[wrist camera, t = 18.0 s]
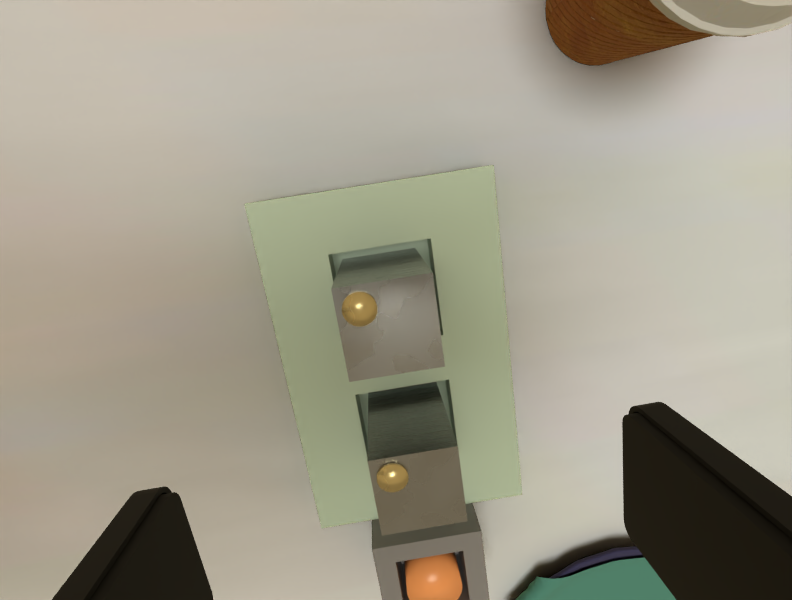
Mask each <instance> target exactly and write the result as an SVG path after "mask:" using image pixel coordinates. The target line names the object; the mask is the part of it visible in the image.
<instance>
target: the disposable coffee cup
mask: <svg viewBox="0 0 792 600" xmlns="http://www.w3.org/2000/svg"><path fill="white" fill-rule="evenodd" d="M546 20H547V23H548V27H549V30H550V34H551V36H552V38H553V40H554V42H555V43H556V45H557V46H558V47H559V49H560V50H561V51H562V52H563V53H564V54H566V55H567V56H568V57H570V58H571V59H572V60H574V61H576V62H579V63H582V64H586V65H603V64H607V63H611V62H614V61H618V60H622V59H625V58H629V57H633V56H637V55H641V54H644V53H648V52H652V51H656V50H660V49H664V48H668V47H671V46H675V45H679V44H683V43H687V42H691V41H694V40H698V39H702V38H706V37H710V36H713V35H715V36H737V37H746V36H751V35H755V34H760V33H764V32H768V31H773V30H777V29H780V28H782V27H784V26H786V25H788V24H790V23H792V0H546Z"/></svg>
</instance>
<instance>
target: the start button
mask: <svg viewBox="0 0 792 600" xmlns="http://www.w3.org/2000/svg"><path fill="white" fill-rule="evenodd" d="M404 564H405V576H406V587H407V595H408V598H409V600H457V599H458V598H459V597H460V595H461V592H462V581H461V577H460V573H459V568H458V564H457V560H456V555H455V552H453V553H447V554H441V555H436V556H430V557H424V558H418V559H412V560H406V561H404Z"/></svg>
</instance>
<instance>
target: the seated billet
mask: <svg viewBox="0 0 792 600" xmlns="http://www.w3.org/2000/svg"><path fill="white" fill-rule="evenodd" d="M367 462H368V467H369V472H370V477H371V482H372V487H373V492H374V498H375V503H376V508H377V513H378V518H379V523H380V529H381V534H382V536H383V535H389V534H395V533H401V532H407V531H413V530H419V529H425V528H430V527H436V526H442V525H448V524H454V523H460V522H466V521H468V520H467V513H466V505H465V497H464V489H463V481H462V474H461V466H460V458H459V450H458V445H457V442H456V439H455V436H454V433H453V430H452V427H451V424H450V421H449V418H448V415H447V412H446V409H445V406H444V403H443V400H442V397H441V394H440V391H439V388H438V385H437V382H430V383H424V384H418V385H412V386H406V387H400V388H394V389H388V390H382V391H376V392H369V393H368V455H367Z"/></svg>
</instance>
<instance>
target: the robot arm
mask: <svg viewBox="0 0 792 600" xmlns="http://www.w3.org/2000/svg"><path fill="white" fill-rule="evenodd" d="M622 424H623V495H624V523H625V527H626V530H627V533H628V535H629V537H630V538H631V540H632V541H633V543H634V544H635V545H636V547H637V548H638V549H639V551H640V552H641V553H642V555H643V556H644V557H645V559H646V560H647V561H648V563H649V564H650V565H651V567H652V568H653V569H654V571H655V572H656V573H657V575H658V576H659V577H660V579H661V580H662V581H663V583H664V584H665V585H666V587H667V588H668V589H669V591H670V592H671V593H672V595H673V596H674V597H675V599H676V600H792V496H790V495H789V494H788V493H786V492H785V491H784V490H782V489H781V488H779V487H778V486H777V485H775V484H774V483H773V482H771V481H770V480H769V479H767V478H766V477H764V476H763V475H762V474H760V473H759V472H758V471H756V470H755V469H753V468H752V467H751V466H749V465H748V464H747V463H745V462H744V461H742V460H741V459H740V458H738V457H737V456H736V455H734V454H733V453H732V452H730V451H729V450H727V449H726V448H725V447H723V446H722V445H721V444H719V443H718V442H716V441H715V440H714V439H712V438H711V437H710V436H708V435H707V434H706V433H704V432H703V431H701V430H700V429H699V428H697V427H696V426H695V425H693V424H692V423H690V422H689V421H688V420H686V419H685V418H684V417H682V416H681V415H680V414H678V413H677V412H675V411H674V410H673V409H671V408H670V407H669V406H667V405H666V404H664V403H662V402H655V403H650V404H644V405H638V406H633V407H631V408H630V411H629V414H628V415H625V416H624V417H623V422H622ZM52 600H213V595H212V591H211V588H210V585H209V582H208V579H207V576H206V573H205V570H204V567H203V564H202V561H201V558H200V555H199V552H198V549H197V546H196V543H195V540H194V537H193V534H192V531H191V528H190V525H189V522H188V519H187V516H186V513H185V510H184V507H183V504H182V501H181V498H180V496H179V495H178V494H177V493H175V492H174V493H172V492H171V490H170V489H169V488H168V487H159V488H153V489H148V490H142V491H137V492H135V493H133V494H132V495H131V496H130V498H129V499H128V500H127V502H126V503H125V504H124V506H123V507H122V508H121V510H120V511H119V512H118V514H117V515H116V516H115V517H114V519H113V520H112V521H111V523H110V524H109V525H108V527H107V528H106V529H105V531H104V532H103V533H102V535H101V536H100V537H99V539H98V540H97V541H96V542H95V544H94V545H93V546H92V548H91V549H90V550H89V552H88V553H87V554H86V556H85V557H84V558H83V560H82V561H81V562H80V563H79V565H78V566H77V567H76V569H75V570H74V571H73V573H72V574H71V575H70V577H69V578H68V579H67V581H66V582H65V583H64V584H63V586H62V587H61V588H60V590H59V591H58V592H57V594H56V595H55V596H54V598H53V599H52Z"/></svg>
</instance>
